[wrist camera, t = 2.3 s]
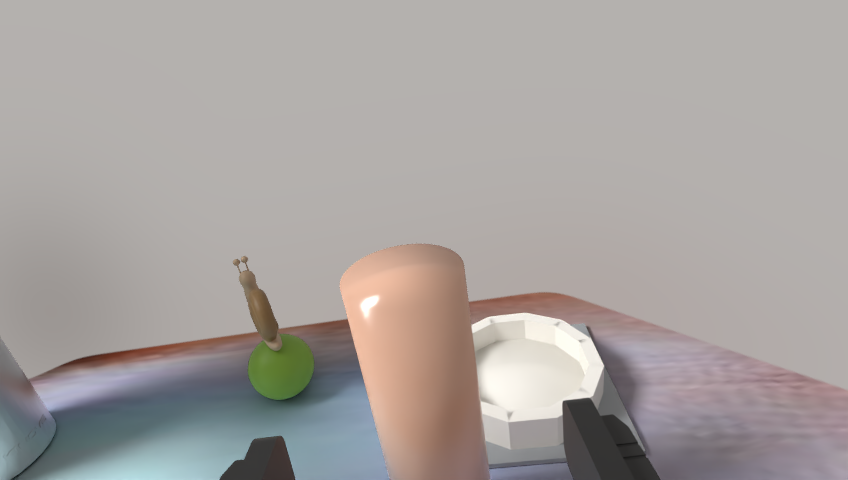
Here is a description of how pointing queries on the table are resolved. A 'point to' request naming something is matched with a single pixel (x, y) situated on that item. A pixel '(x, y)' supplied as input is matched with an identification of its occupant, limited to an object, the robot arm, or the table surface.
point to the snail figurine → (274, 348)
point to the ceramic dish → (532, 377)
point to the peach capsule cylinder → (418, 361)
